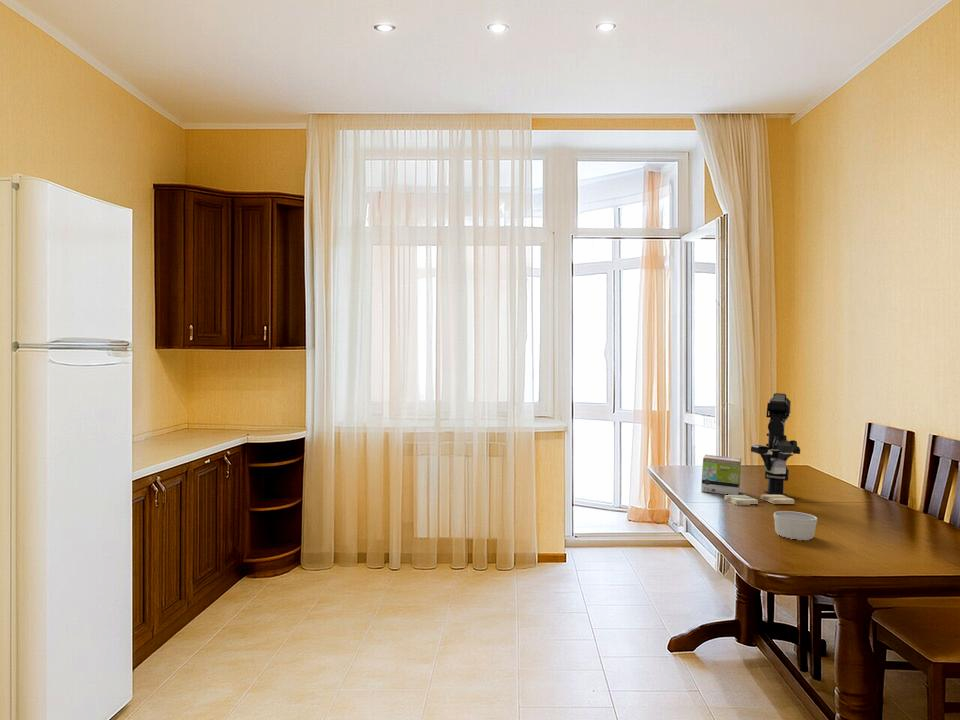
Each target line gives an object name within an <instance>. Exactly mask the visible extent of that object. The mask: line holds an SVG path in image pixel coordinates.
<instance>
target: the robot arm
mask: <svg viewBox="0 0 960 720" xmlns="http://www.w3.org/2000/svg"><path fill="white" fill-rule="evenodd" d="M772 396H773V397H772V398H770V399H769V402H767V405H766V406H767V407H766V418H769V420H768V424H767V430H768V433H766V436H767V438H768V439H767V440H768V442H767V443H765V445H762V444H752V445H751V447H750V452H752V453H755V454H758V455H759V456H760V457H761V459H762V461H763V464H764V463H765V466H766V468H767V471H770V464H771V458H776V459H780V460H784V461H786V462H787V460H788V459H789V458H790V457H792V456H794V455H800V454H801V448H800V447H799V446H798V441H797V440H794V439H792V440H787V435H786V434H785V423H786V422H787V420H788V419H789V417H790V414H791V404H792V403H791V402H792V401H791V400H790V399H789V398H788V397H787V394H786V393H781V392H780V393H777V392H775V393H773V395H772ZM767 471H764V479H765V480H767V490H764V491H763V492H764V493H766V492H767V493H766V494H769V493H770V494H769V495H779V494H780V495H781V494H782V495H783V496H786V495H787V493H785V492H784V486H785V485H784V481H785V482H787V481H789V474H790V473H789V469H788V466H787V465H786V474H773V473H770V472H767Z"/></svg>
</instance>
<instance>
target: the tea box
mask: <svg viewBox="0 0 960 720" xmlns="http://www.w3.org/2000/svg"><path fill="white" fill-rule="evenodd" d="M741 467H742V458H739V457H732V456H731V457H730V456H723V455H712V454H705V455H704V456H703V458H702V469H701V471H702V472H701V473H702V474H701V485H700V487H701V488H700V490H701V493H705V492H706V493H713V494H720V495H726V494H728V495H739V492H740V485H741V469H742V468H741Z"/></svg>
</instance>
